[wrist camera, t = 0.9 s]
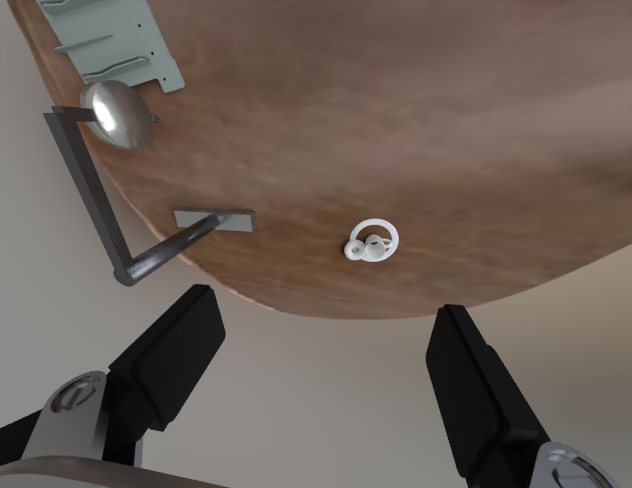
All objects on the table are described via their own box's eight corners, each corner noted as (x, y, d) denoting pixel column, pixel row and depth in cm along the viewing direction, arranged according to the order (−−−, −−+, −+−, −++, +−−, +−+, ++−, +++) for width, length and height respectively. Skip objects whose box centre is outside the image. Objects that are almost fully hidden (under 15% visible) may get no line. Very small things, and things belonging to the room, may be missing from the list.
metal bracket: (87, 113, 31) (-5, -36, 25) (116, 119, 36) (46, -3, 31) (187, 80, 31) (118, -77, 25) (202, 91, 36) (148, -37, 31)
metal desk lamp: (152, 98, 34) (-49, 67, 17) (240, 97, 32) (112, 60, 15) (185, 222, 43) (74, 283, 26) (256, 227, 41) (186, 295, 24)
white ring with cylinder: (343, 257, 41) (342, 270, 38) (346, 216, 38) (345, 225, 34) (393, 261, 40) (397, 274, 37) (401, 219, 37) (406, 228, 33)
